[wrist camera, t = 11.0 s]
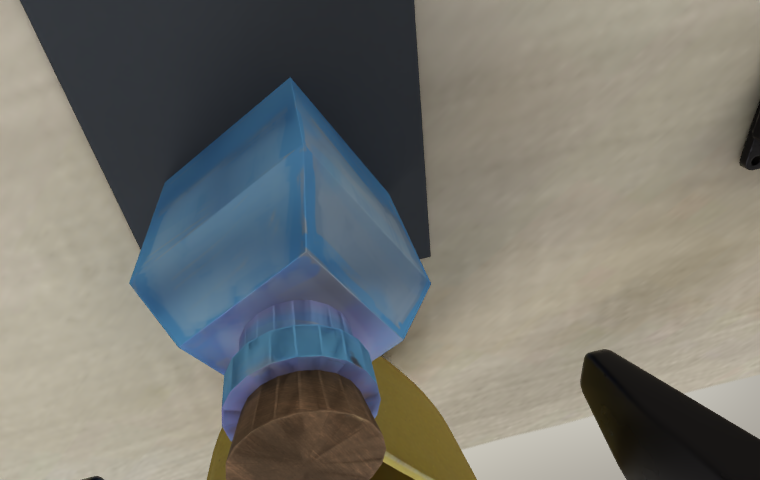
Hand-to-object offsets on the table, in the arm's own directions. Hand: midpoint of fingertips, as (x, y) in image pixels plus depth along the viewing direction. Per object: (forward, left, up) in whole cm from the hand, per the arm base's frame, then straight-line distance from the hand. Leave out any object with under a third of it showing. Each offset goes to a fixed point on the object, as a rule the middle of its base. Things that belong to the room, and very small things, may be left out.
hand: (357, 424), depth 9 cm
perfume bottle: (+1, +1, -12) cm, 13 cm away
